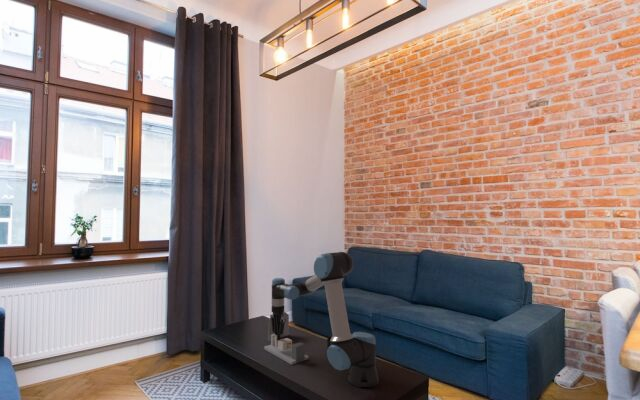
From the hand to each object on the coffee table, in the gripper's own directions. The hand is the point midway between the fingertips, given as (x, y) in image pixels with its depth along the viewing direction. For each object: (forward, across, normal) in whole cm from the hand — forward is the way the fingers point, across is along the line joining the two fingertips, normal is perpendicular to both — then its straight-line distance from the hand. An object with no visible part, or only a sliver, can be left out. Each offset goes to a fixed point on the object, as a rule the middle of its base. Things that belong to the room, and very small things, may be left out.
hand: (277, 345), depth 209 cm
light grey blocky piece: (+5, -4, -4) cm, 7 cm away
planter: (+5, +23, -14) cm, 28 cm away
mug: (+5, -25, -24) cm, 35 cm away
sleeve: (+1, -4, -2) cm, 5 cm away
